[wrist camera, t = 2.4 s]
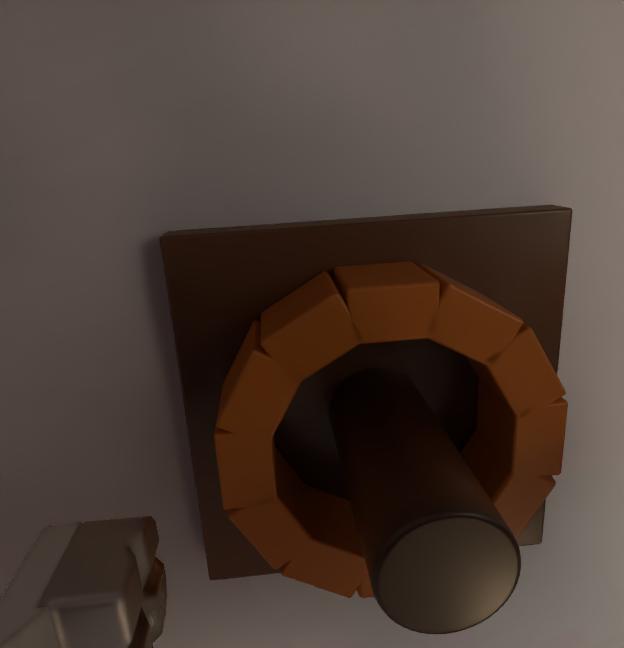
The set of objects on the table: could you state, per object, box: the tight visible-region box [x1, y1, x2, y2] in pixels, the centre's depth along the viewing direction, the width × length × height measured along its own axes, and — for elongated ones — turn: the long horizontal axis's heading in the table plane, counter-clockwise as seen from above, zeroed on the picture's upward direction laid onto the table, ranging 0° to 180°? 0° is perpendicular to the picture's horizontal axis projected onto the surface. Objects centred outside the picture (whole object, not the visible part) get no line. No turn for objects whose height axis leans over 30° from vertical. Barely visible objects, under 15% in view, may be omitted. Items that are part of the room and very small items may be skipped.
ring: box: [214, 261, 568, 598], centre depth 10 cm, size 6×6×2 cm
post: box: [160, 205, 572, 634], centre depth 9 cm, size 8×8×6 cm
